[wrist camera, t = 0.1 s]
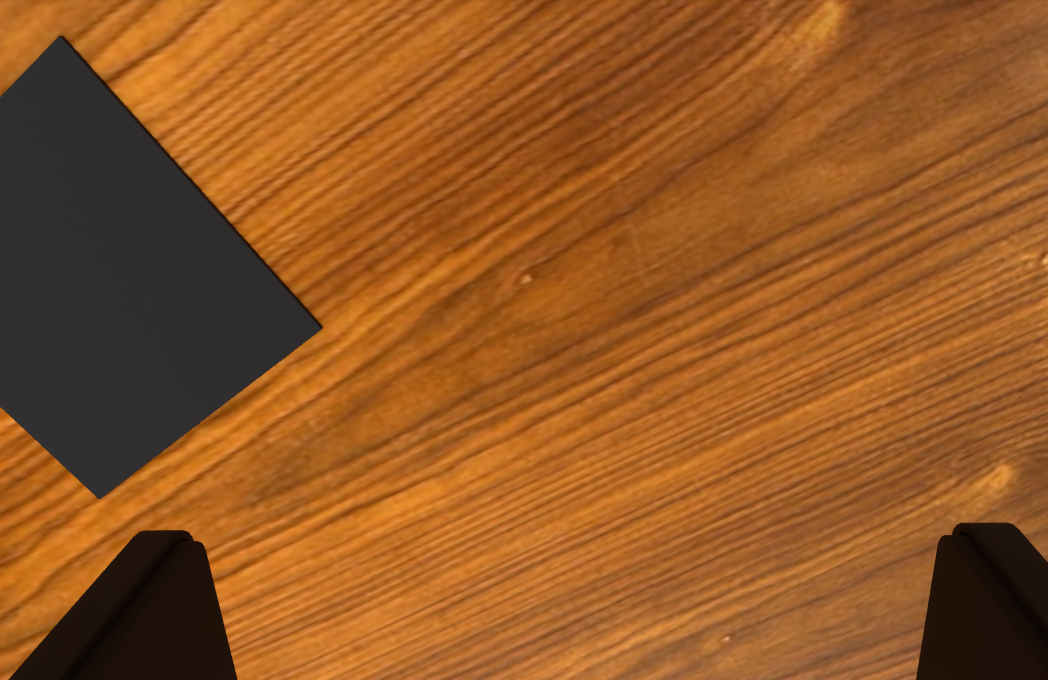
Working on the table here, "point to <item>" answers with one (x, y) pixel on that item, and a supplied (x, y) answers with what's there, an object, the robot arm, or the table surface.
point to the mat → (119, 282)
